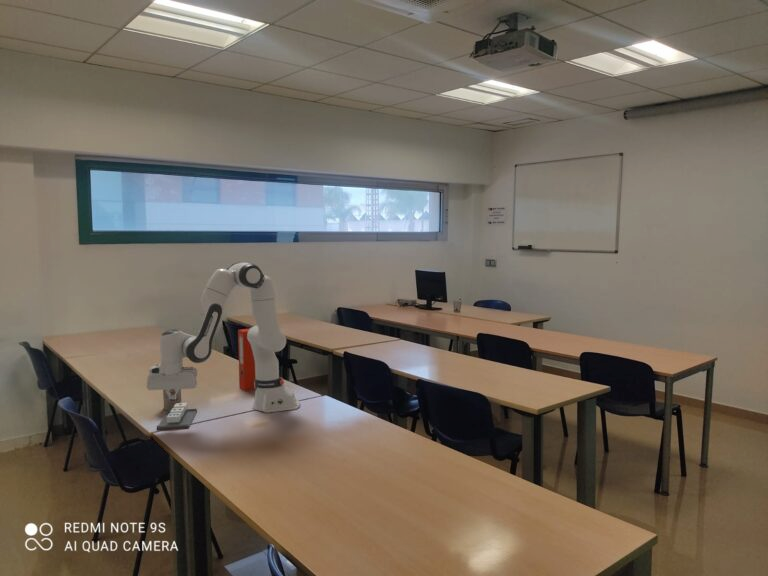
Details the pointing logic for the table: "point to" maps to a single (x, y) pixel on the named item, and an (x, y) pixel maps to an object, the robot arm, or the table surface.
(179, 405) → the key one
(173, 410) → the key two
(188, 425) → the keypad board
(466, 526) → the table surface
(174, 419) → the key three
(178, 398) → the thermos bottle
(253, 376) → the file binder
